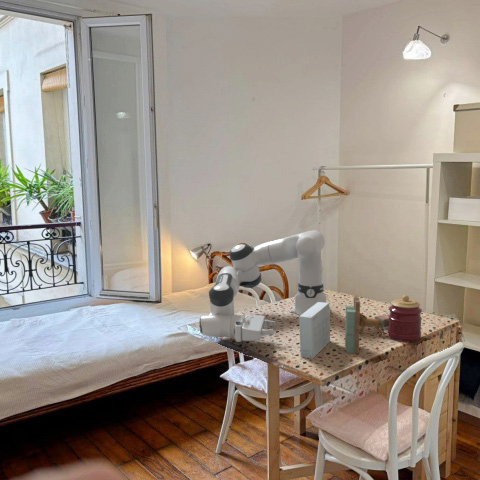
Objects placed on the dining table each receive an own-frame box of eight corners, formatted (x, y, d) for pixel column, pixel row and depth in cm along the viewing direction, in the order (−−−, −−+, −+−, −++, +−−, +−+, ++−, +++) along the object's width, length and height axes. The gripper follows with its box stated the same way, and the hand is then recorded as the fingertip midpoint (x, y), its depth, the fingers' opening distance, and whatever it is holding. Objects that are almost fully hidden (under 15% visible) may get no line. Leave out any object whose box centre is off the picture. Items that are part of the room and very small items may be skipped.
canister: (390, 342, 202) (391, 299, 199) (385, 331, 214) (386, 290, 212) (424, 343, 200) (425, 299, 197) (417, 332, 212) (419, 291, 210)
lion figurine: (350, 333, 212) (350, 313, 210) (351, 329, 217) (352, 309, 215) (386, 337, 207) (387, 316, 206) (387, 333, 212) (387, 312, 210)
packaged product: (386, 320, 215) (370, 314, 224) (385, 331, 215) (370, 325, 224) (417, 314, 222) (401, 308, 231) (417, 325, 223) (401, 319, 232)
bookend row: (345, 344, 199) (345, 295, 196) (356, 345, 199) (357, 295, 196) (346, 353, 190) (347, 301, 187) (358, 353, 190) (360, 302, 187)
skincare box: (317, 339, 206) (318, 301, 204) (330, 341, 204) (331, 302, 201) (298, 356, 188) (298, 315, 185) (312, 359, 185) (312, 317, 183)
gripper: (243, 325, 210) (276, 326, 208) (236, 343, 189) (272, 344, 188) (242, 311, 209) (276, 312, 207) (235, 327, 189) (272, 328, 187)
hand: (274, 327), depth 197 cm, fingers open, 8 cm apart
